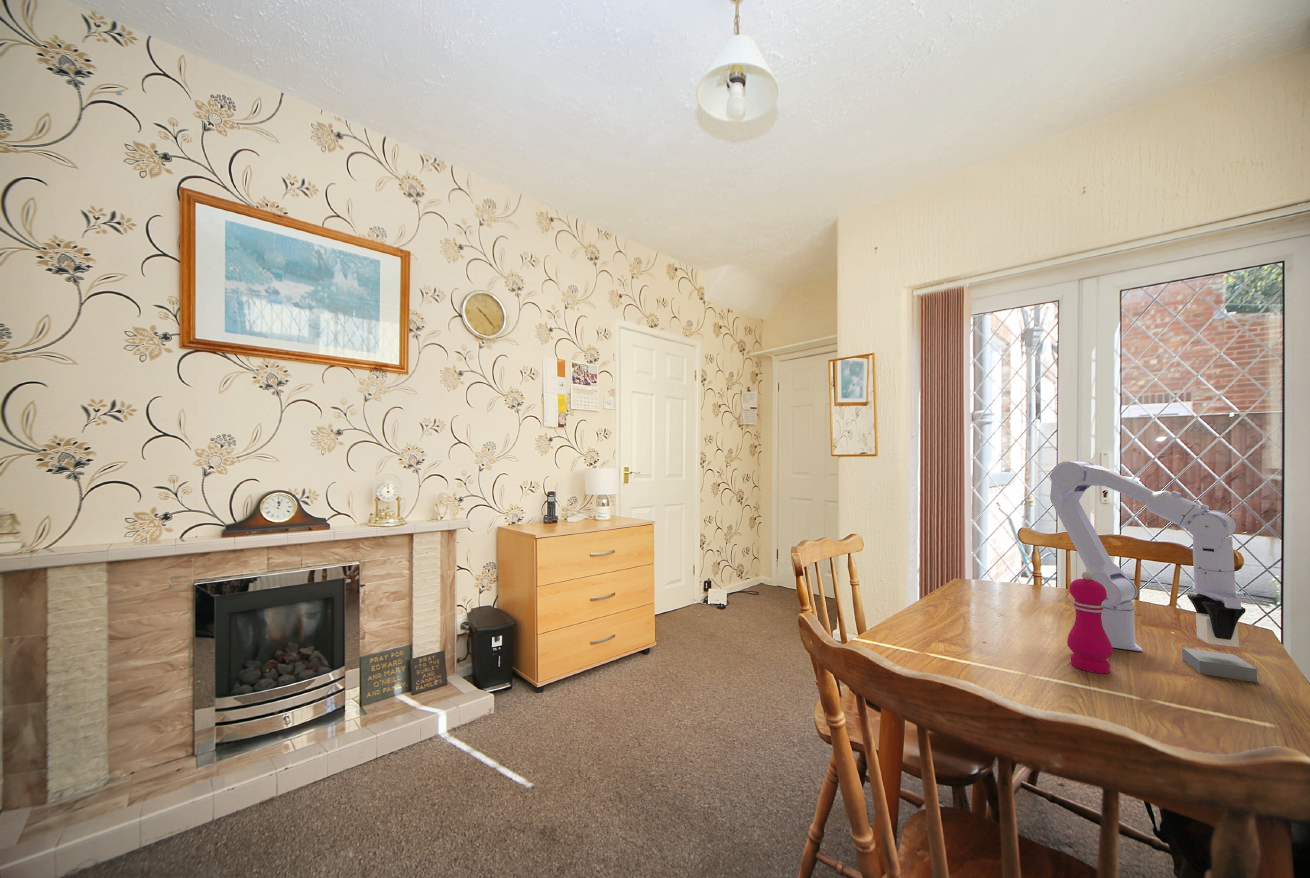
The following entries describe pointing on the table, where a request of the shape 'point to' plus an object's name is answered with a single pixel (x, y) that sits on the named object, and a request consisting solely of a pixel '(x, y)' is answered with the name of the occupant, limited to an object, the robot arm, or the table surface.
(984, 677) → the table surface
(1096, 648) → the pepper mill
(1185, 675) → the table surface
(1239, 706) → the table surface
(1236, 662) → the gray base block
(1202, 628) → the cream block
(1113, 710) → the table surface
